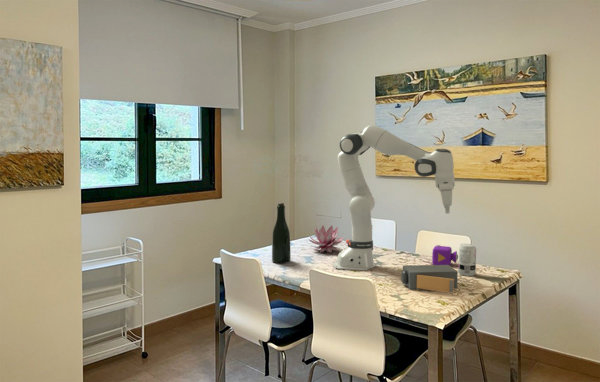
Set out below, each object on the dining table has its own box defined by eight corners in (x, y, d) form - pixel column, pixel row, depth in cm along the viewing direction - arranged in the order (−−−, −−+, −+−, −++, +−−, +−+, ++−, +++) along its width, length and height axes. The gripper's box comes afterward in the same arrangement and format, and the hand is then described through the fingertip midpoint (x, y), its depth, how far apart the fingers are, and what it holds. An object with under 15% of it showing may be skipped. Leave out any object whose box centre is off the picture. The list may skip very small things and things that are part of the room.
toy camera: (459, 267, 260) (459, 249, 259) (432, 266, 262) (433, 248, 261) (456, 262, 270) (457, 245, 269) (431, 261, 273) (431, 244, 272)
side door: (416, 288, 220) (416, 275, 219) (417, 287, 221) (417, 274, 221) (452, 293, 213) (453, 280, 212) (453, 292, 214) (453, 279, 214)
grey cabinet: (406, 289, 221) (406, 272, 221) (399, 282, 233) (399, 265, 232) (457, 288, 223) (457, 271, 222) (447, 281, 235) (448, 264, 234)
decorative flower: (301, 251, 299) (301, 226, 297) (325, 245, 313) (325, 222, 312) (326, 257, 283) (326, 231, 281) (350, 251, 297) (351, 227, 296)
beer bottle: (282, 264, 266) (282, 204, 263) (268, 261, 272) (267, 203, 269) (294, 260, 274) (294, 202, 271) (280, 258, 281) (279, 201, 277)
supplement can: (455, 272, 250) (456, 243, 249) (471, 272, 251) (472, 243, 249) (462, 276, 242) (463, 247, 241) (478, 276, 243) (479, 246, 241)
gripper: (437, 179, 243) (439, 205, 246) (439, 187, 224) (441, 216, 226) (450, 178, 242) (452, 205, 244) (453, 186, 222) (455, 215, 225)
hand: (447, 210), depth 235 cm, fingers open, 8 cm apart
